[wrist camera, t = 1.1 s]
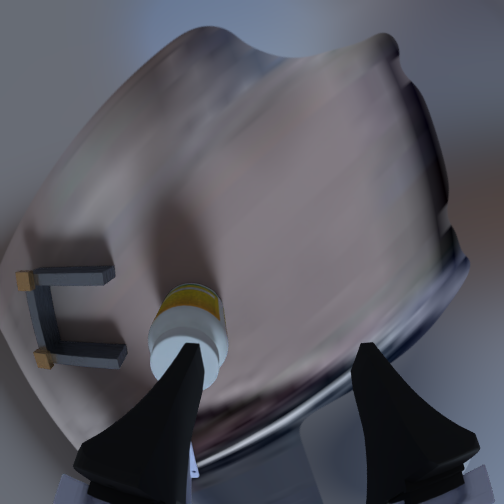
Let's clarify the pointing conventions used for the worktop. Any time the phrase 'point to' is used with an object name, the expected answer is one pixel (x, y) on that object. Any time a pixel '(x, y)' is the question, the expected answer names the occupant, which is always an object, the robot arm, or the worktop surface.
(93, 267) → the docking mount
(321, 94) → the worktop surface
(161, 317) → the supplement bottle
